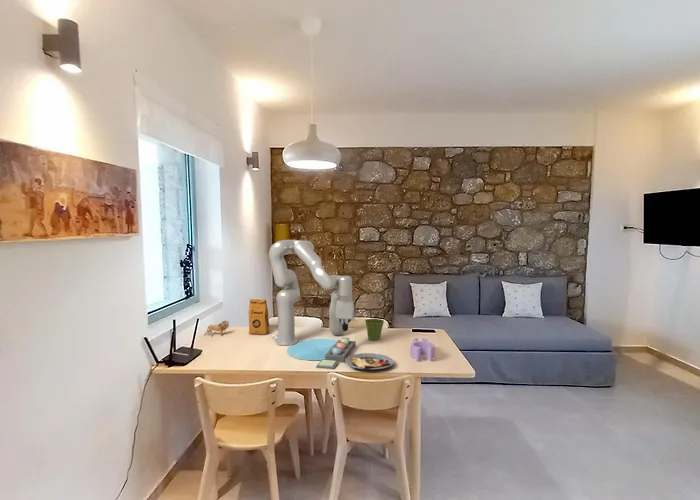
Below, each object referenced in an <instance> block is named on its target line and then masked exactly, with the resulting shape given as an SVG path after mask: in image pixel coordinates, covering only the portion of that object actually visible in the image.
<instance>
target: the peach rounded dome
mask: <svg viewBox="0 0 700 500" xmlns="http://www.w3.org/2000/svg"><path fill="white" fill-rule="evenodd" d="M337 347H341V348H342V350H346V343H345V342H338V343H337Z"/></svg>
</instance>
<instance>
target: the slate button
mask: <svg viewBox="0 0 700 500" xmlns="http://www.w3.org/2000/svg"><path fill="white" fill-rule="evenodd" d="M332 347H333V346H332ZM332 347H331V348H332ZM332 354H333V355H342V348H341V347H333V348H332Z"/></svg>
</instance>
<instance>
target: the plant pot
mask: <svg viewBox="0 0 700 500" xmlns="http://www.w3.org/2000/svg"><path fill="white" fill-rule="evenodd" d="M364 323H365V326H366V331H367V332H366V333H367V340H369V341H380V340H381V337H382V336H381V335H382V331H383V326H384V323H385V320H383V319H379V318H367V319H365V320H364Z"/></svg>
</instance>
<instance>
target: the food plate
mask: <svg viewBox="0 0 700 500" xmlns="http://www.w3.org/2000/svg"><path fill="white" fill-rule="evenodd" d="M344 363H346V364H347V365H348V366H349V367H351V368H353V369H357V370H363V371H366V370H367V371H371V370H372V371H373V370H384V369H388V368H389V367H393V366H394V365H395V361H394V359H393V358H391V357H389V356H388V355H386V354H379V353H372V352H371V353H370V352H368V353H367V352H363V353H355V354H352V355H349V356H348V357H347V358H345V362H344Z"/></svg>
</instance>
